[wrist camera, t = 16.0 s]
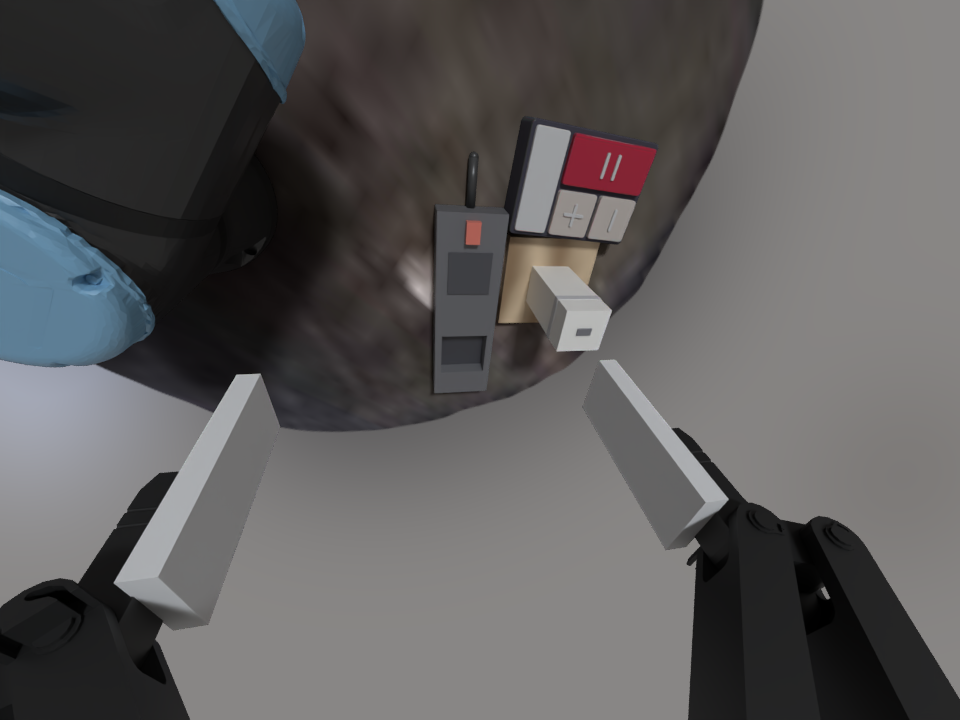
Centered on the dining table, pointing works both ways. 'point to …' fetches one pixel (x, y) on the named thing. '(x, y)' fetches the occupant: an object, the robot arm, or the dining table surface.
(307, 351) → the dining table surface
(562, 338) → the block
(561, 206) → the calculator
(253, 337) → the dining table surface
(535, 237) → the wooden board
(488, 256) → the grey handheld radio
